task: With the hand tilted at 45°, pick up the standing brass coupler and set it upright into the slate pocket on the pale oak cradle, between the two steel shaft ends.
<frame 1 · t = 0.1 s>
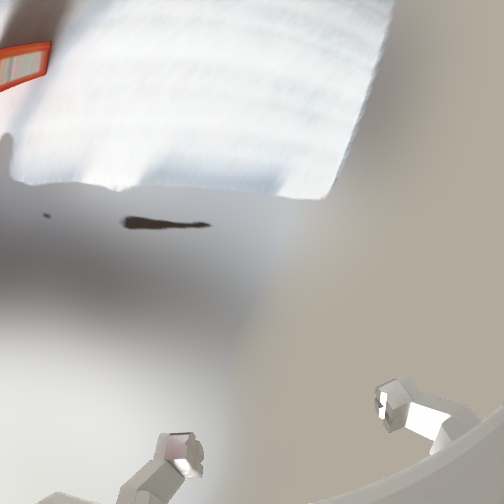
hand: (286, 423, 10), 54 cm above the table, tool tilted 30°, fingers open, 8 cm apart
file binder: (19, 62, 29), on the table
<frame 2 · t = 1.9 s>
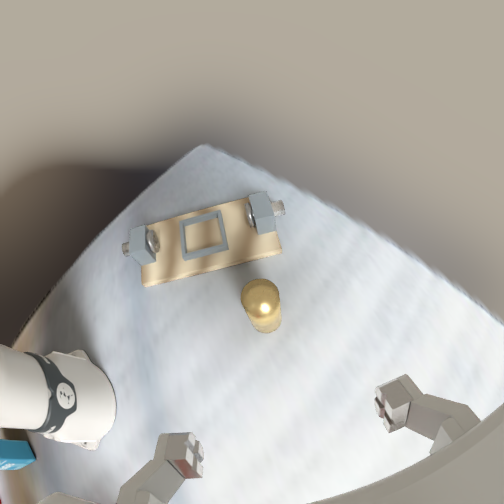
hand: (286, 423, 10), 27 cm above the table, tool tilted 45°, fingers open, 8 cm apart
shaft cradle: (205, 241, 48), on the table
brass coupler: (266, 318, 40), on the table
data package: (24, 456, 28), on the table
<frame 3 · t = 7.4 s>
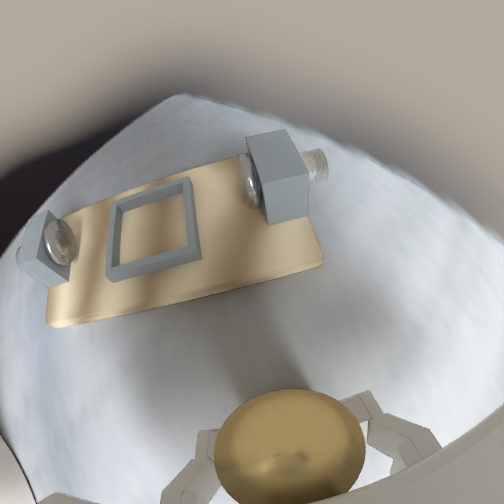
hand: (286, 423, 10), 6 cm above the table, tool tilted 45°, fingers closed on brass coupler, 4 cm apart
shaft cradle: (160, 240, 23), on the table
brass coupler: (290, 422, 15), on the table, touching gripper
when the fingers open (8 cm above the table, at t = 14.4 s): brass coupler stays where it is, resting on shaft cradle.
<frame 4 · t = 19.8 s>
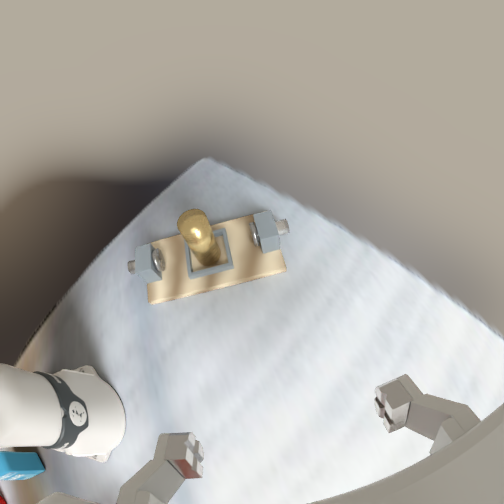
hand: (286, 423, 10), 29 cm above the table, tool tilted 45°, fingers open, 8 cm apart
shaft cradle: (211, 258, 49), on the table
brass coupler: (208, 254, 47), point 2 cm above the table, touching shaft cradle
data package: (33, 466, 29), on the table
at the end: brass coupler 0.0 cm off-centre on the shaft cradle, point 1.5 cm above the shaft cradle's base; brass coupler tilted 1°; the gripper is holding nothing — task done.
